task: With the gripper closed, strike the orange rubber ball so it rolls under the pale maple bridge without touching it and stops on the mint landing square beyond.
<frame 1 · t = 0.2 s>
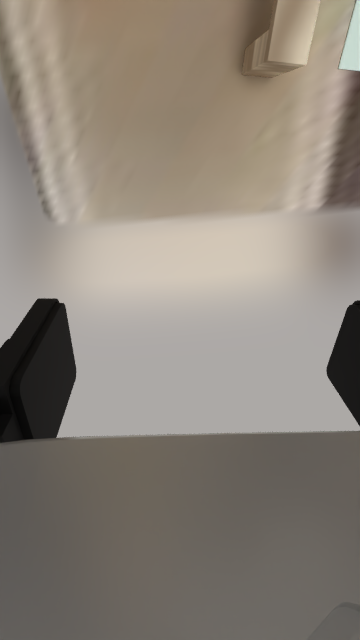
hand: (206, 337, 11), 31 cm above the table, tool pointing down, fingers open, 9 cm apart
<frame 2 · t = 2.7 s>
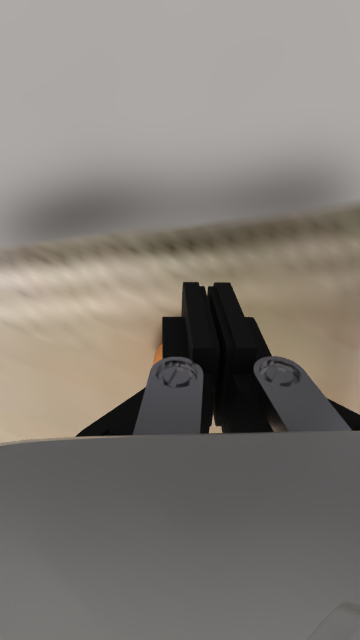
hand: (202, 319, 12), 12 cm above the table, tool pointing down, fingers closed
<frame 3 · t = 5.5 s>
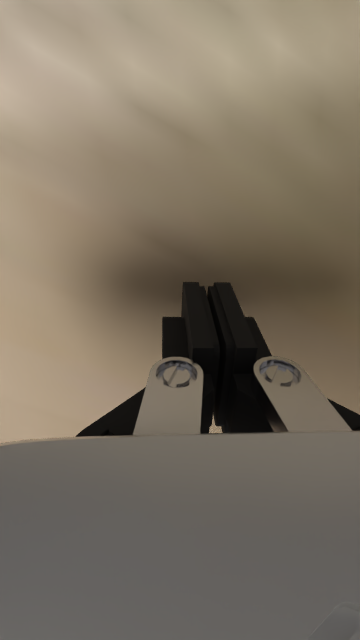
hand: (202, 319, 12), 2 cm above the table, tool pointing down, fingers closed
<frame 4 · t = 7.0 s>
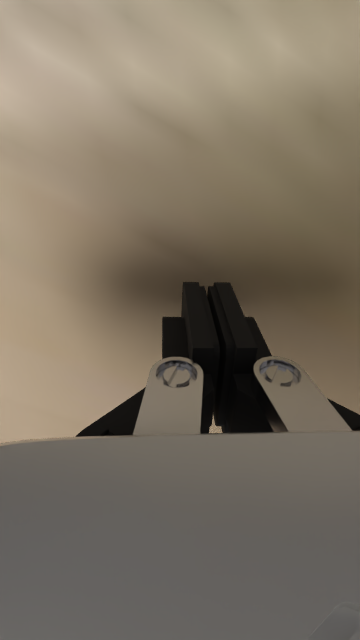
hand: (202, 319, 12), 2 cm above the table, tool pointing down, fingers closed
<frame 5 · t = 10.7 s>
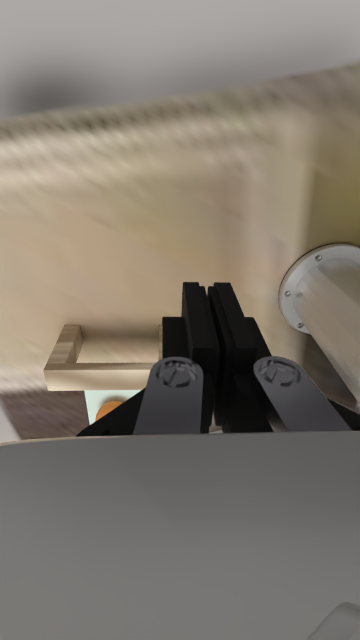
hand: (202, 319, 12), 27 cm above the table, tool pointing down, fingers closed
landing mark: (125, 407, 52), on the table
bridge: (120, 334, 45), on the table
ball: (114, 419, 49), on the table
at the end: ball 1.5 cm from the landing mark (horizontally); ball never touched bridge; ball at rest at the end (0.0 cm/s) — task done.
